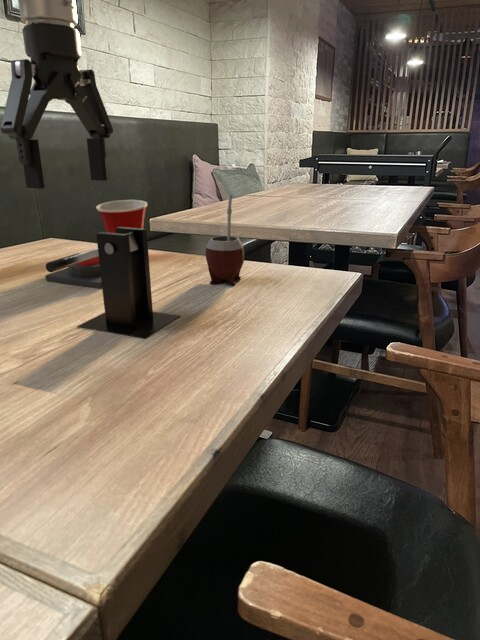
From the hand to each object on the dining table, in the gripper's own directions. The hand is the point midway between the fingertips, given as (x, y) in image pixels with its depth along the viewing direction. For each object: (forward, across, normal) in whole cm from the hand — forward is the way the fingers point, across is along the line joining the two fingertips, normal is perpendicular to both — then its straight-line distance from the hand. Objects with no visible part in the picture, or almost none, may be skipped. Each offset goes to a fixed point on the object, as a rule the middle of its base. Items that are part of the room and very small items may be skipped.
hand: (69, 184), depth 76 cm
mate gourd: (+19, +19, -17) cm, 32 cm away
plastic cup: (+19, +26, +11) cm, 34 cm away
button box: (+18, +7, +4) cm, 20 cm away
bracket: (+18, -8, -16) cm, 26 cm away
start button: (+15, +7, +4) cm, 17 cm away
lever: (+9, -8, -11) cm, 17 cm away
